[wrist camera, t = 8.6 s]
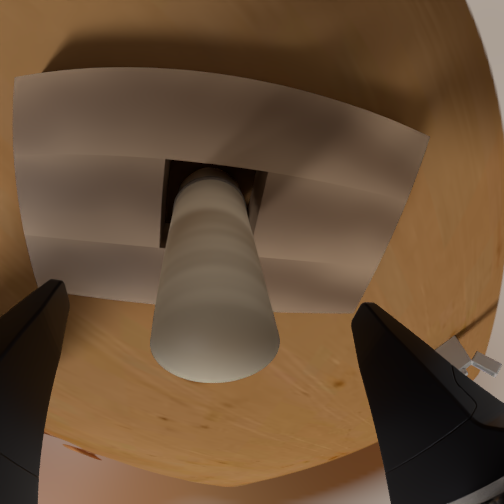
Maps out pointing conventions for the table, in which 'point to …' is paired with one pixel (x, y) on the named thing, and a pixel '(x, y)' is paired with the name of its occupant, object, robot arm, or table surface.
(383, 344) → the robot arm
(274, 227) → the board
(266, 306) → the dowel
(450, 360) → the lighter
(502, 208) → the table surface
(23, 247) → the table surface
